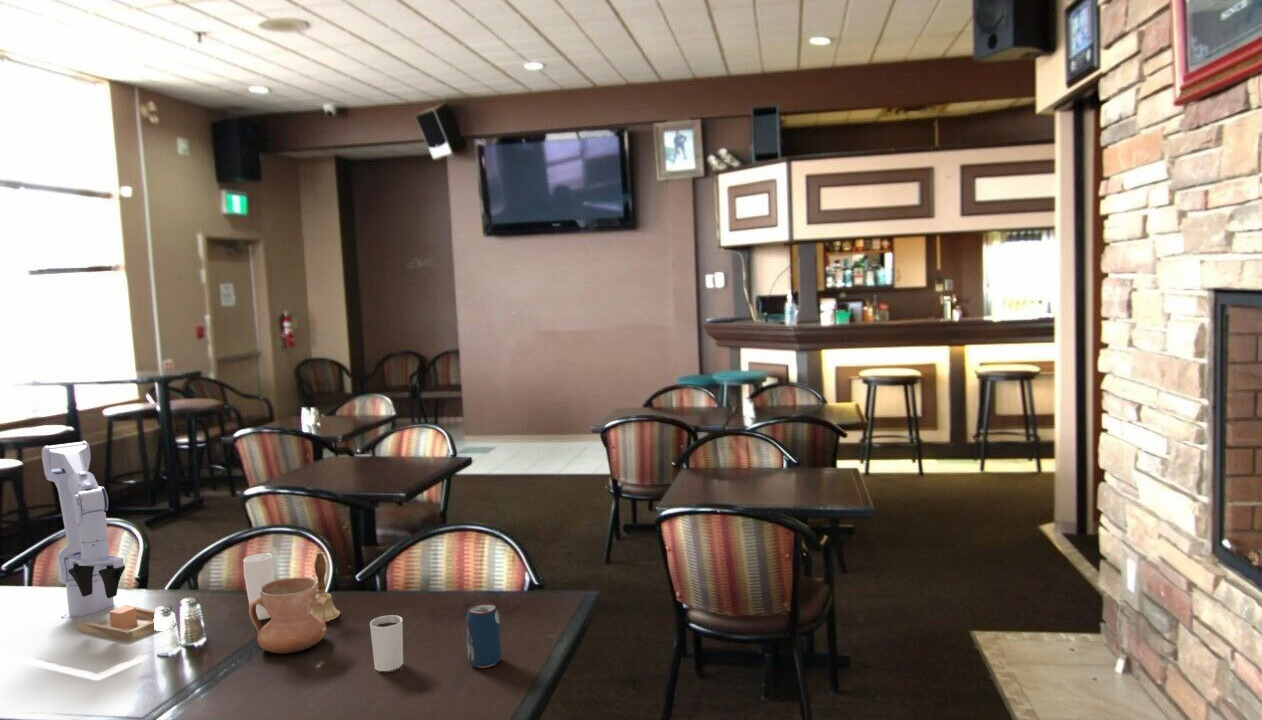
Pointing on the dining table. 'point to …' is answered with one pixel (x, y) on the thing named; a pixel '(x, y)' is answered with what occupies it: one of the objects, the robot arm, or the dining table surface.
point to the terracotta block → (123, 617)
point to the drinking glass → (258, 578)
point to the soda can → (483, 634)
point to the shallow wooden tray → (122, 634)
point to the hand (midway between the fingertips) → (99, 596)
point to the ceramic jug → (289, 615)
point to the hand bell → (323, 593)
